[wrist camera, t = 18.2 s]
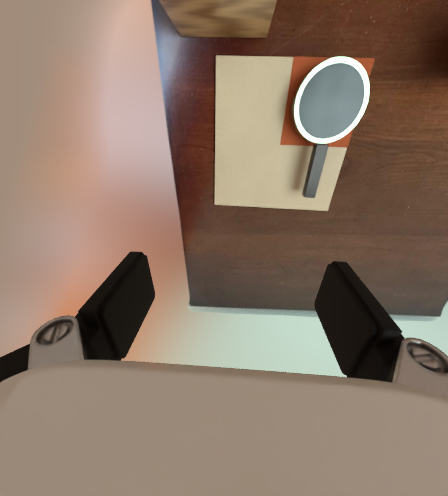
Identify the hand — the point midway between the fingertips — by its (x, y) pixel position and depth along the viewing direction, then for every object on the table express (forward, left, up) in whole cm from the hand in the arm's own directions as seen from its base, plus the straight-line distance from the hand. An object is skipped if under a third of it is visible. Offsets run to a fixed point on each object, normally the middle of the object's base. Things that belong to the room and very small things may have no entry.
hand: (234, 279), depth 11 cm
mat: (+7, +5, -31) cm, 32 cm away
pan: (+12, +6, -30) cm, 33 cm away
